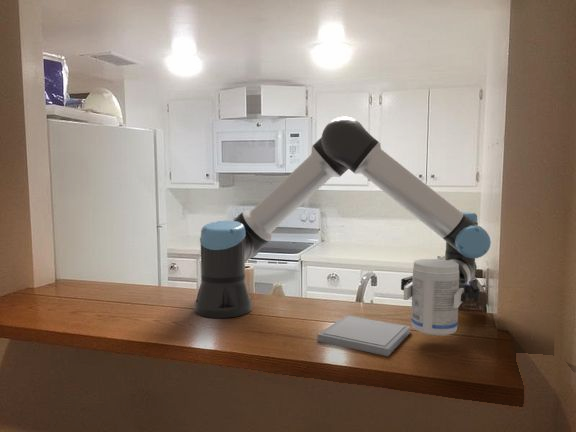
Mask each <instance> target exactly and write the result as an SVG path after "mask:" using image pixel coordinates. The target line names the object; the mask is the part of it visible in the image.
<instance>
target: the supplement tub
mask: <svg viewBox="0 0 576 432" xmlns="http://www.w3.org/2000/svg"><path fill="white" fill-rule="evenodd" d="M412 276H413V281H412V297H411V326H412V328H413V329H414V330H415V331H417V332H419V333H423V334H425V335H430V336H431V335H432V336H450V335H452V334H454V333H456V332H457V330H458V324H459V323H458V321H459V319H458V318H459V307H458V308H454V294H455V293H456V292H457V291H458V290H459V264H458V263H456V262H453V261H448V260H445V259H440V258H439V259H438V258H421V259H416V260H414V261H413V266H412Z"/></svg>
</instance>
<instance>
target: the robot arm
mask: <svg viewBox="0 0 576 432" xmlns="http://www.w3.org/2000/svg"><path fill="white" fill-rule="evenodd" d="M348 170H349V171H351V172H352V173H353V174H355V175H357V174H361V175H362V176H363V177H365V178H366V179H368V180H369V181H370V182H371V183H373V184H374V185H375V186H377V187H378V188H379V189H380V190H382V191H383V192H384V193H385V194H387V196H389V197H390V198H391V199H393V200H394V201H395V202H396V203H398V204H399V205H400V206H401V207H403V208H404V209H405V210H406V211H407V212H409V213H410V214H411V215H413V216H414V217H415V218H416V219H418V220H419V221H420V222H422V224H424V225H425V226H427V227H428V228H429V229H430V230H431V231H433V232H434V233H435V234H436V235H438V236H439V237H440V238H442V239H443V240H444V241H445V254H444V255H445V256H444V257H445V258H444V260H448V261H453V262H456V263H458V264H459V290H458V291H457V292H456V293H455V294H454V308H458V309H459V307H460V305H461V304H462V303H463V302H464V303H467V302H469V301H470V299H472V300H473V301H474V302H480V291H481V289H480V287H479V286H478V283H479V282H478V281H479V280H476V279H474V278H475V276H476V273H477V269H478V268H477V263H476V259H479V258H481V257H483V256H484V255H487V253H488V251H489V250H490V248H491V241H492V240H491V237H490V235H489V233H488V232H487V230H486V229H484V228H483V227H481V226H480V225H479V223H478V214H477V213H475V212H470V211H469V212H468V211H461V210H459V209H457V208H456V207H455V206H454V205H452V204H451V203H450V202H449V201H447V200H446V199H445V198H444V197H442V196H441V195H440V194H439V193H437V192H436V191H435V190H434V189H432V188H431V187H430V186H429V185H427V184H426V183H424V181H422V180H421V179H419V178H418V177H417V176H416V175H415V174H413V173H412V172H411V171H410V170H408V169H407V168H406V167H404V166H403V165H402V164H401V163H399V162H398V161H397V160H396V159H395V158H393V157H392V156H390V154H388V153H387V152H385V151H384V150H383V149H382V146H381V142H380V141H378V140H377V139H376V138H375V137H374V136H373V135H371V133H369V132H368V131H367V130H366V128H364V126H363V125H362V123H360V122H359V121H358V120H356V119H355V118H352V117H348V116H340V117H337V118H335V119H332V120H331V121H329V122H328V123H327V124H326V125H325V127H324V129H323V131H322V133H321V137H320V138H319V139H318V140H317V141H316V142H315V143H314V144H312V146H311V153H310V155H309V156H308V157H307V158H306V159H305V160H304V161H302V162H301V163H300V164H299V165H298V166H296V168H295V169H294V170H293V171H292V172H291V173H290V174H289V175H288V176H286V178H284V179H283V180H282V181H281V182H280V183H279V184H278V185H277V186H276V187H275V188H274V189H273V190H272V191H270V192H269V193H268V194H267V195H266V197H264V198H263V199H262V200H261V201H260V202H259V203H258V204H257V205H256V206H254V207H253V208H252V210H247V209H245V210H243V211H242V212H241V213H240V214H238V216H236V217H235V219H233V220H220V221H219V220H218V221H213V222H209V223H206V224H204V225H203V226H202V228H201V229H200V237H199V243H200V276H201V277H200V278H201V279H200V285H199V289H198V292H197V295H196V299H195V301H194V312H195V314H197V315H198V316H201V317H205V318H211V319H213V318H214V319H225V318H226V319H228V318H235V317H240V316H243V315H247V314H248V313H250V312H251V311H252V307H253V306H252V303H253V302H252V298H251V296H250V293H249V289H248V285H247V284H246V283H247V282H246V261H249V260H250V259H253V258H254V257H256V256H257V255H258V254H259V253H260V251H261V250H262V248H263V247H265V246H266V244H268V243H269V242H270V241H271V240H272V232H273V231H275V230H276V229H277V228H278V226H280V225H281V224H283V222H284V221H285V220H286V219H287V218H289V217H290V216H291V215H292V214H293V213H294V212H295V211H296V210H297V209H299V208H300V207H301V206H302V205H303V204H304V203H305V202H307V200H308V199H310V197H312V195H314V194H315V193H316V192H317V191H318V190H319V189H321V187H323V186H324V184H326V183H327V182H328V181H329V180H330V179H332V178H333V177H335V178H337V177H339V178H341V176H343V175H344V174H345V173H346V172H347V171H348ZM412 281H413V275H410V276H407V277H403V278H401V280H400V283H401V284H400V290H401V291H403V300H405V301H407V300H409V299H411V298H412Z"/></svg>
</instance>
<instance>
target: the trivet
mask: <svg viewBox="0 0 576 432" xmlns="http://www.w3.org/2000/svg"><path fill="white" fill-rule="evenodd" d="M410 334H411V326H410V325H405V324H398V323H393V322H388V321H382V320H375V319H370V318H365V317H359V316H353V315H348V314H346V315H344V316H343V317H342V318H340V319H339V320H337V321H335V322H334V323H333V324H331V325H330V326H328V327H327V328H325V329H324V330H322V331H320V332H319V333H317V339H316V340H317V342H321V343H326V344H330V345H334V346H339V347H345V348H348V349H353V350H358V351H362V352H368V353H370V354H371V353H372V354H376V355H381V356H385V357H389V356H390V355H391V354H392V352H394V351H395V349H396V348H397V347H398V346H400V344H401V343H402V342H403V341H404V340H405V339H406V338H407V337H408V336H409V335H410Z"/></svg>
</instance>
